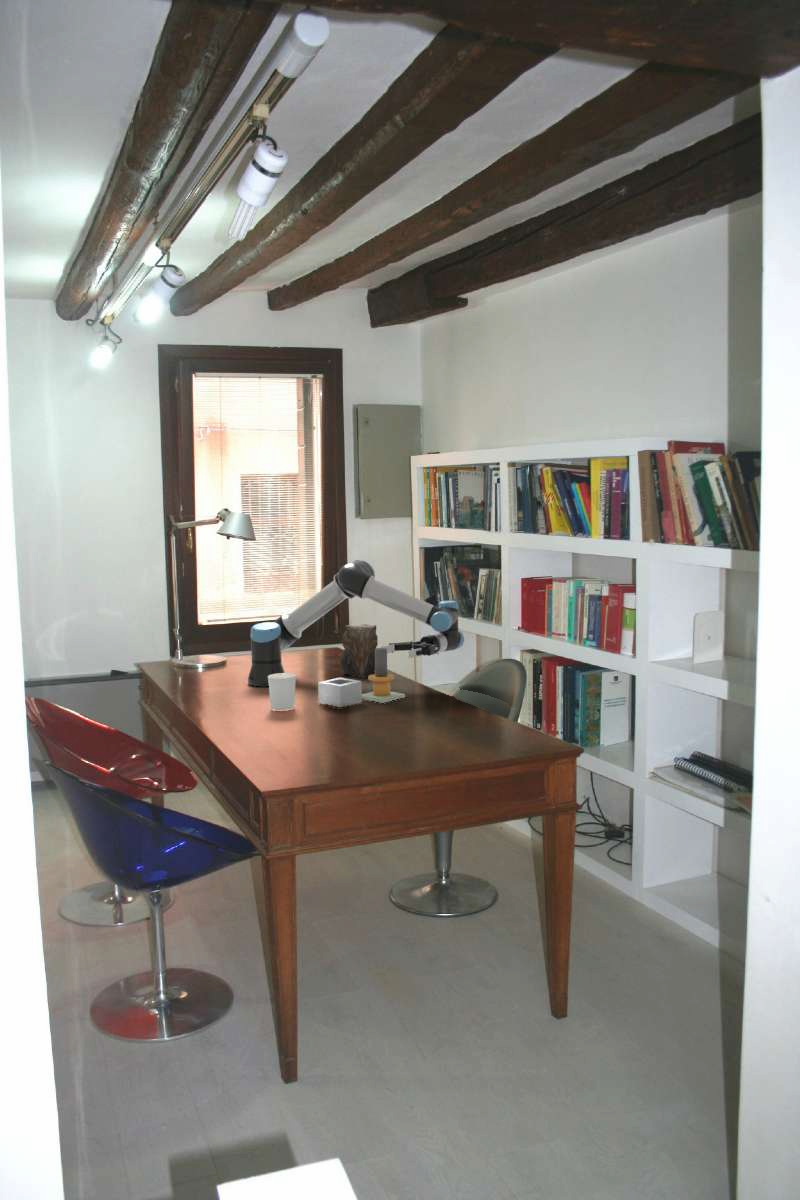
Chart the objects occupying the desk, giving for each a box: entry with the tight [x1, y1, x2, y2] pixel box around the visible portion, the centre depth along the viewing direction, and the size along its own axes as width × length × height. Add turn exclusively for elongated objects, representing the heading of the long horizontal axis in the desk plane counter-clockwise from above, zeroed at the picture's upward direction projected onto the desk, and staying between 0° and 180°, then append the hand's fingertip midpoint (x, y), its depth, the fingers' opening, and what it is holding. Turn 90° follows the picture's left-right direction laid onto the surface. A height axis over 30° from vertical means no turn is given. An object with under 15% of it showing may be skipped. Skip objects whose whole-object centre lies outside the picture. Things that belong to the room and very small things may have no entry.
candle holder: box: [268, 672, 297, 710], centre depth 368 cm, size 10×10×12 cm
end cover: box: [367, 647, 396, 696], centre depth 382 cm, size 10×10×17 cm
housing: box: [317, 677, 363, 707], centre depth 375 cm, size 11×11×8 cm
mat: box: [362, 690, 406, 704], centre depth 383 cm, size 12×12×2 cm
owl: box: [340, 623, 379, 678], centre depth 429 cm, size 13×13×20 cm
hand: (395, 652), depth 386 cm, fingers open, 13 cm apart
